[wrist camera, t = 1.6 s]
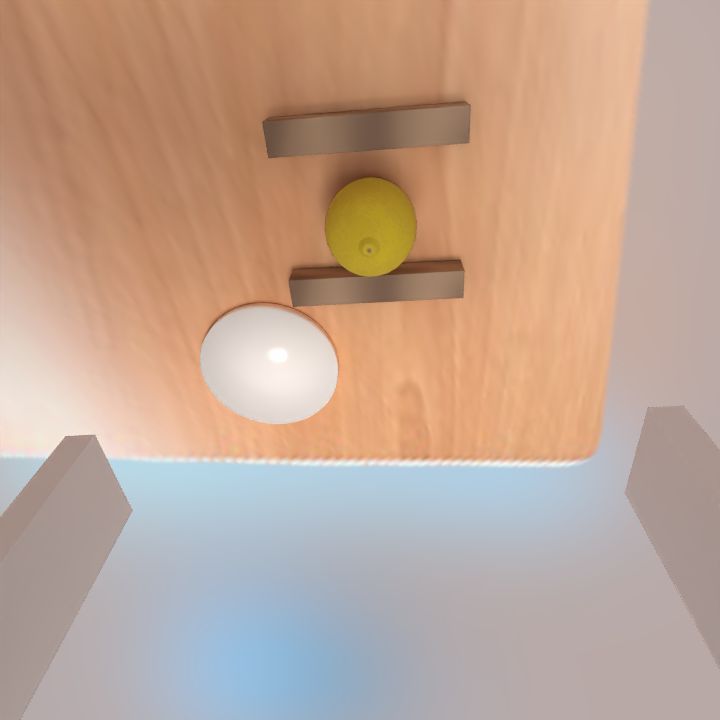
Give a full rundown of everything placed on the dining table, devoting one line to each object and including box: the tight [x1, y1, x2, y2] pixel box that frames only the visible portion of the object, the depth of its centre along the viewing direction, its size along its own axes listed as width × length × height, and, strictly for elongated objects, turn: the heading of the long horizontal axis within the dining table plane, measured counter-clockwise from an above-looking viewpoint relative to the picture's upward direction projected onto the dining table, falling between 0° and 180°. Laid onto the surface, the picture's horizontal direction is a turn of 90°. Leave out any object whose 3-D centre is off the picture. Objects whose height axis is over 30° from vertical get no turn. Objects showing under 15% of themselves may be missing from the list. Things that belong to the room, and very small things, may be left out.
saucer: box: [200, 303, 339, 424], centre depth 40 cm, size 11×11×1 cm
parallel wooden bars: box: [263, 102, 471, 307], centre depth 33 cm, size 12×12×2 cm
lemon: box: [325, 177, 417, 277], centre depth 30 cm, size 6×6×8 cm
